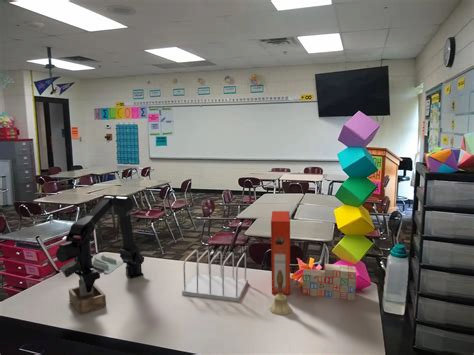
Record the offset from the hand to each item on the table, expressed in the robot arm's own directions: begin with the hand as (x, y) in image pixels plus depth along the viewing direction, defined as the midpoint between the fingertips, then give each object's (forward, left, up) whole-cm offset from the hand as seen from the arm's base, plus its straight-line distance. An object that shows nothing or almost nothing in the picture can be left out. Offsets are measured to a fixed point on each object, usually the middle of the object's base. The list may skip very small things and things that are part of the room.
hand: (86, 289), depth 140 cm
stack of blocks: (-80, +60, -6) cm, 100 cm away
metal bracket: (-18, -33, -7) cm, 38 cm away
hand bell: (-56, +55, -6) cm, 79 cm away
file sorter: (-47, +24, -6) cm, 53 cm away
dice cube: (0, 0, -1) cm, 1 cm away
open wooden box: (0, 0, -6) cm, 6 cm away
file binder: (-71, +41, -6) cm, 82 cm away
